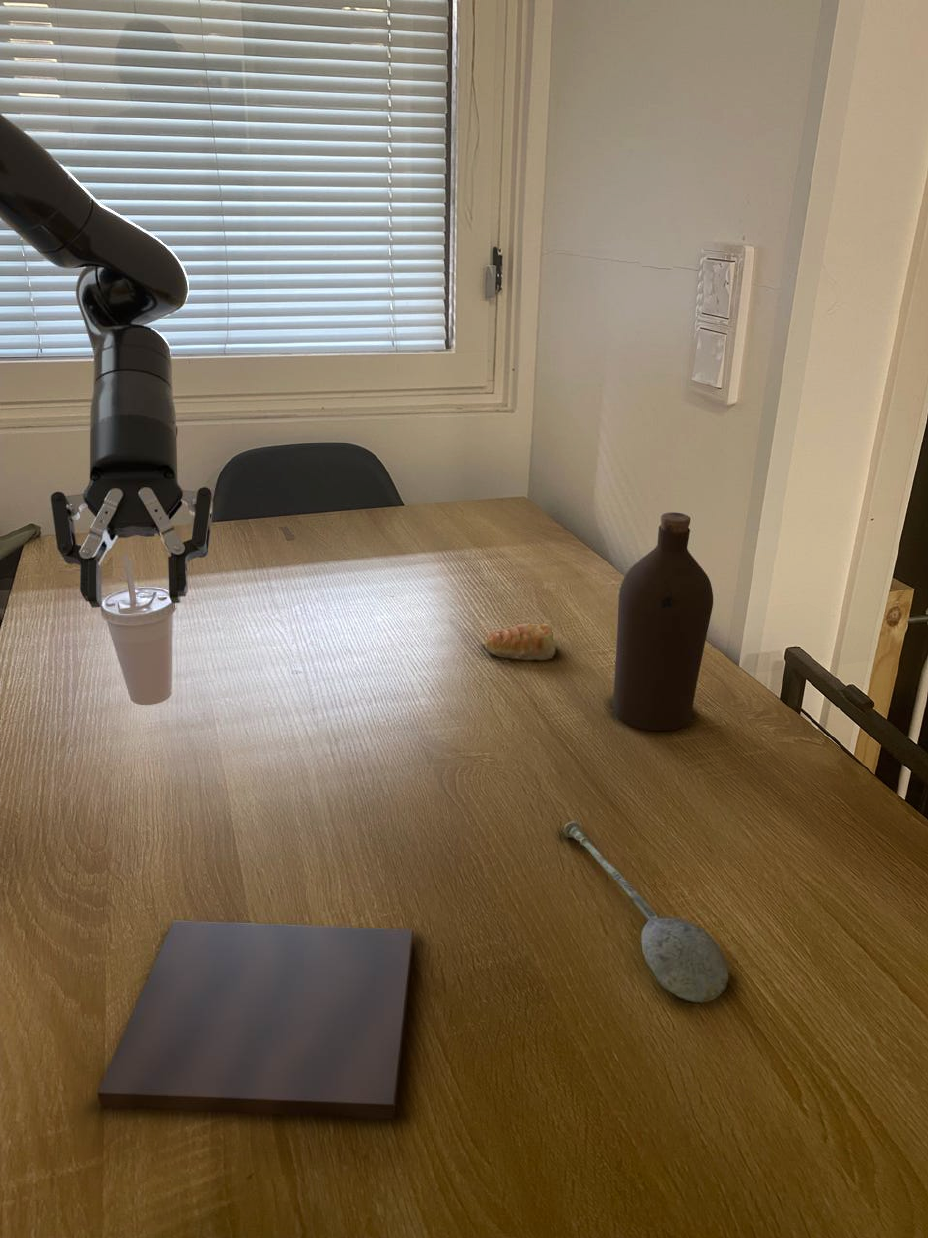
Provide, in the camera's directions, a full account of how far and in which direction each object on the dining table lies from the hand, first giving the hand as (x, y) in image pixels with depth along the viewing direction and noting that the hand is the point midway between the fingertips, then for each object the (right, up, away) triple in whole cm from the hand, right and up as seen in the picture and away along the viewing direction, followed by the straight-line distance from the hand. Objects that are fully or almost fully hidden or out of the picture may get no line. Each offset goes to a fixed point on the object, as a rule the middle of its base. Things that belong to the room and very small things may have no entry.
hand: (135, 601), depth 79 cm
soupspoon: (+43, -27, +1) cm, 51 cm away
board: (+14, -32, -10) cm, 36 cm away
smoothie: (-1, -9, +6) cm, 11 cm away
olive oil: (+51, -13, +32) cm, 62 cm away
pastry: (+37, -6, +46) cm, 59 cm away
